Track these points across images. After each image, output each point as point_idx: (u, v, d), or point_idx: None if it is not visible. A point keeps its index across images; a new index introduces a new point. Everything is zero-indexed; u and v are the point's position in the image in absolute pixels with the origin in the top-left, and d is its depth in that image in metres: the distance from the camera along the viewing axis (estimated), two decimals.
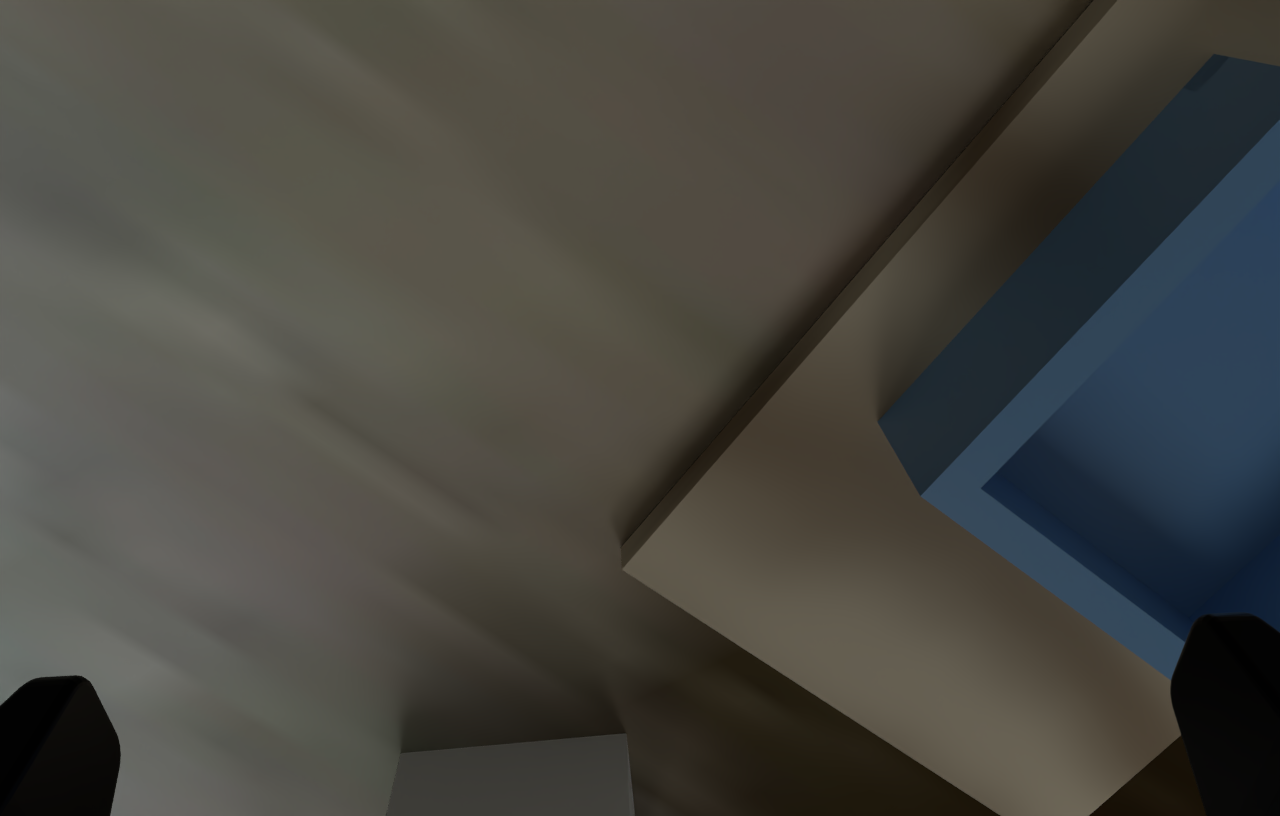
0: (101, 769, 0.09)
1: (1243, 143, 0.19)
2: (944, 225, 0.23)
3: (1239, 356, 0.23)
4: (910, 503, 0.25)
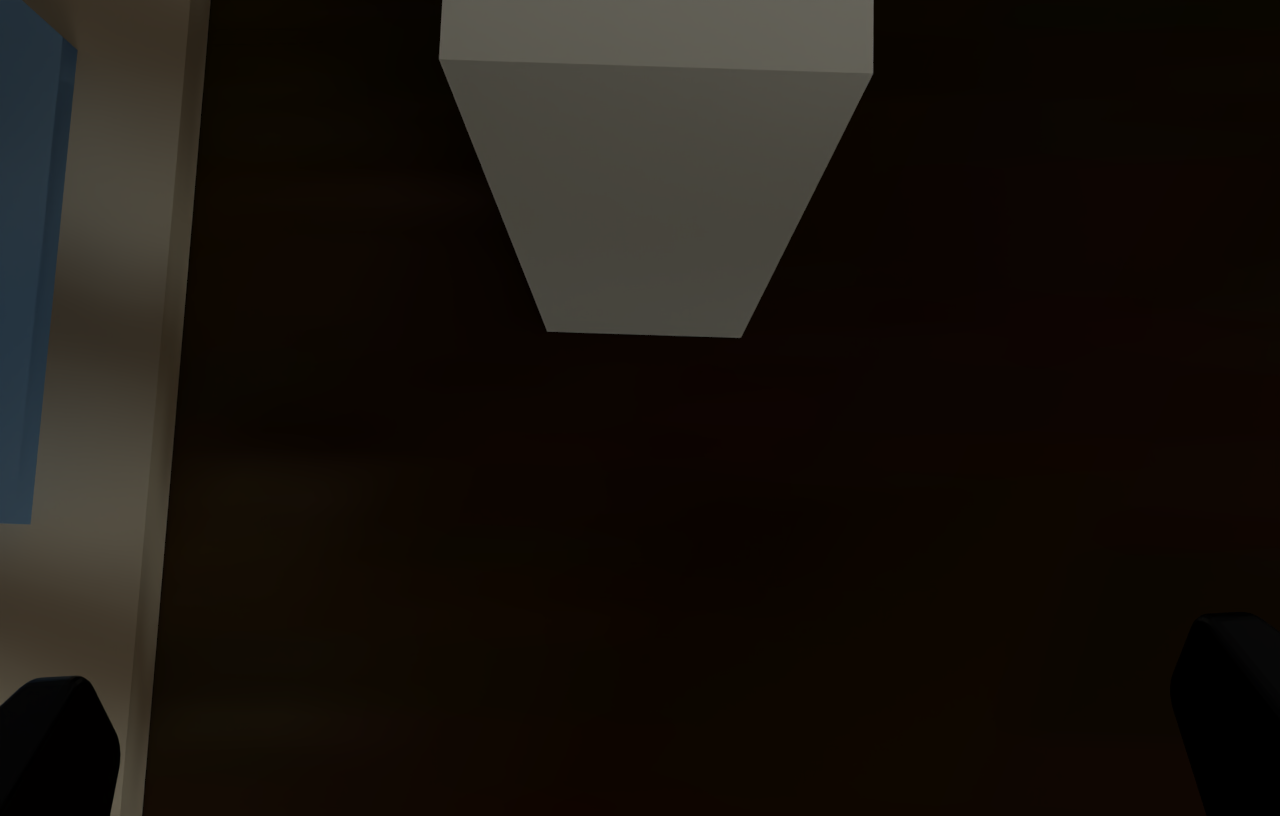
0: (101, 769, 0.09)
1: None
2: None
3: None
4: None
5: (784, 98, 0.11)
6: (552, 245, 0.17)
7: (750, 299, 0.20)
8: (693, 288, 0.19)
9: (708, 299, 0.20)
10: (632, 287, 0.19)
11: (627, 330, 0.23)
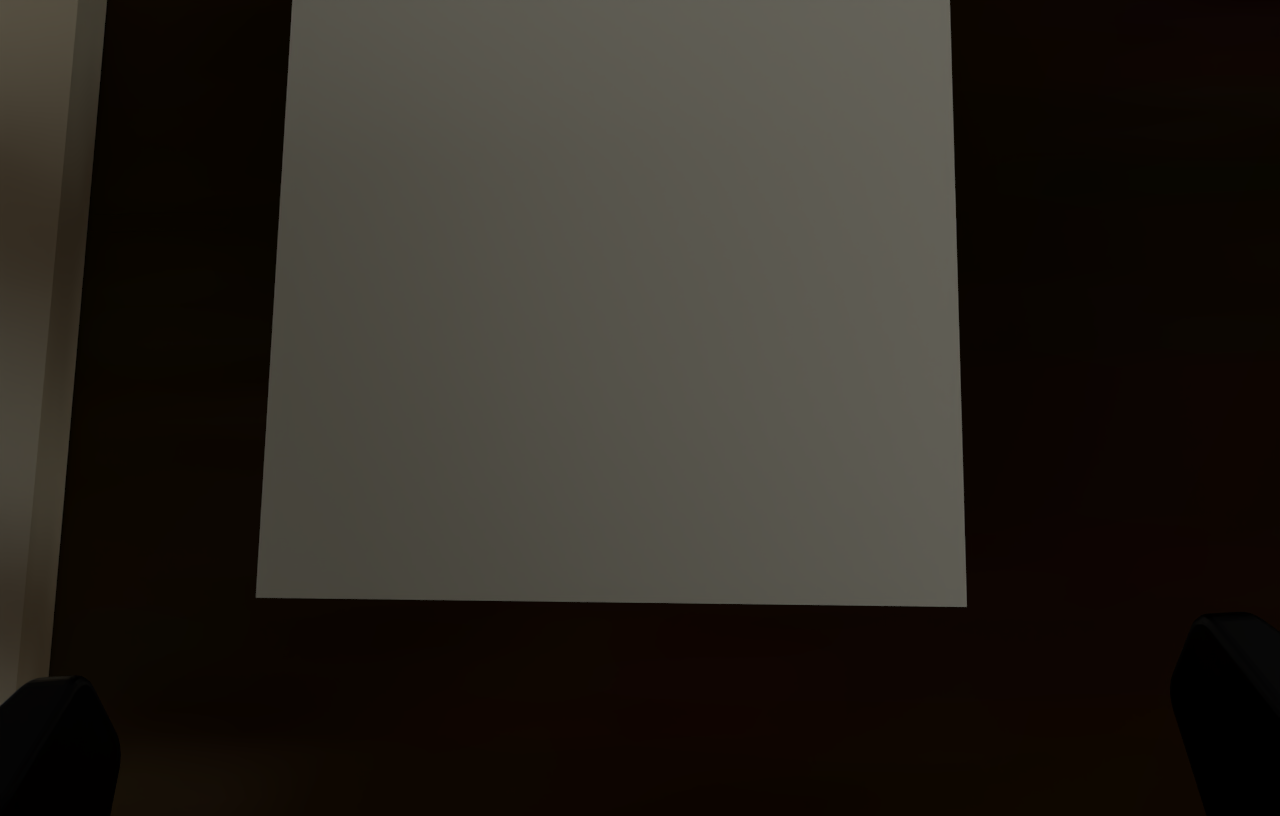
0: (101, 768, 0.09)
1: None
2: None
3: None
4: None
5: None
6: None
7: None
8: None
9: None
10: None
11: None
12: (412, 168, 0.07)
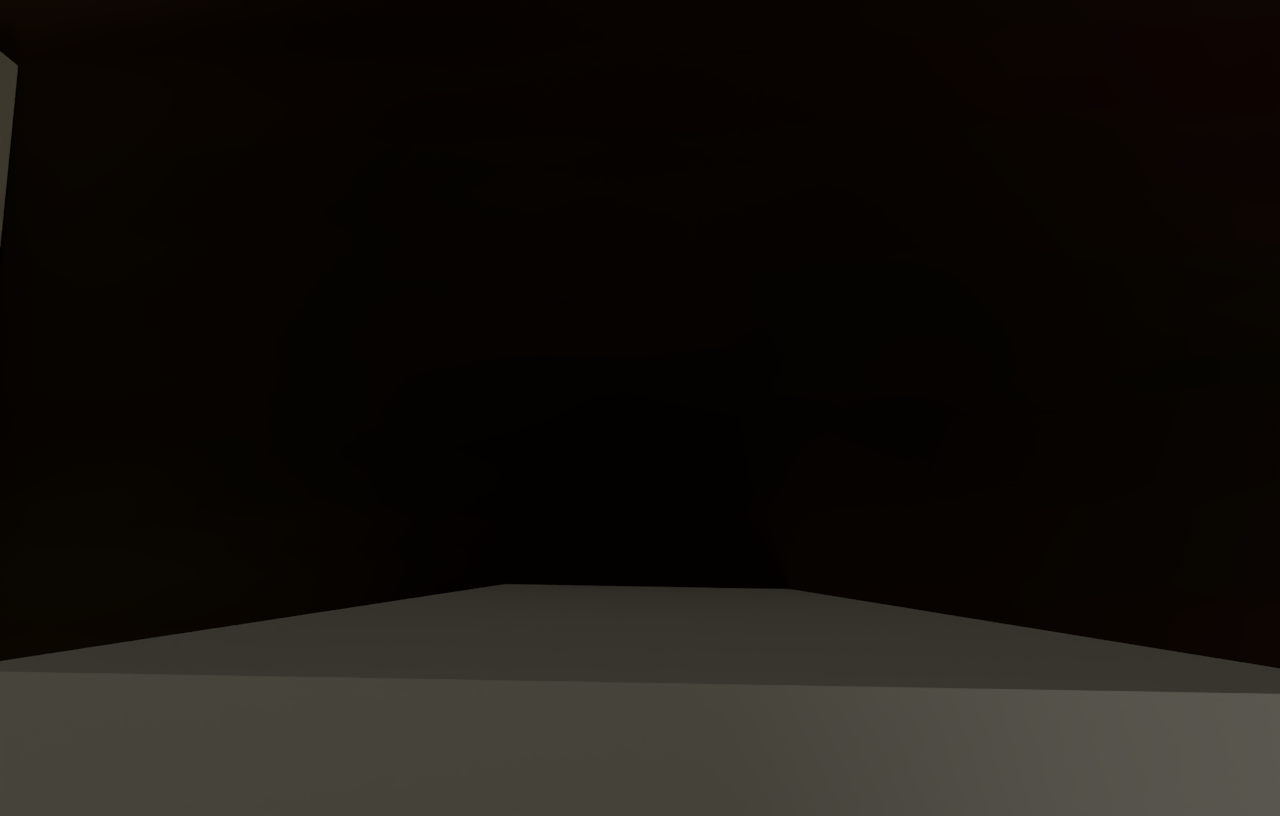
0: None
1: None
2: None
3: None
4: None
5: None
6: None
7: None
8: None
9: None
10: None
11: None
12: None
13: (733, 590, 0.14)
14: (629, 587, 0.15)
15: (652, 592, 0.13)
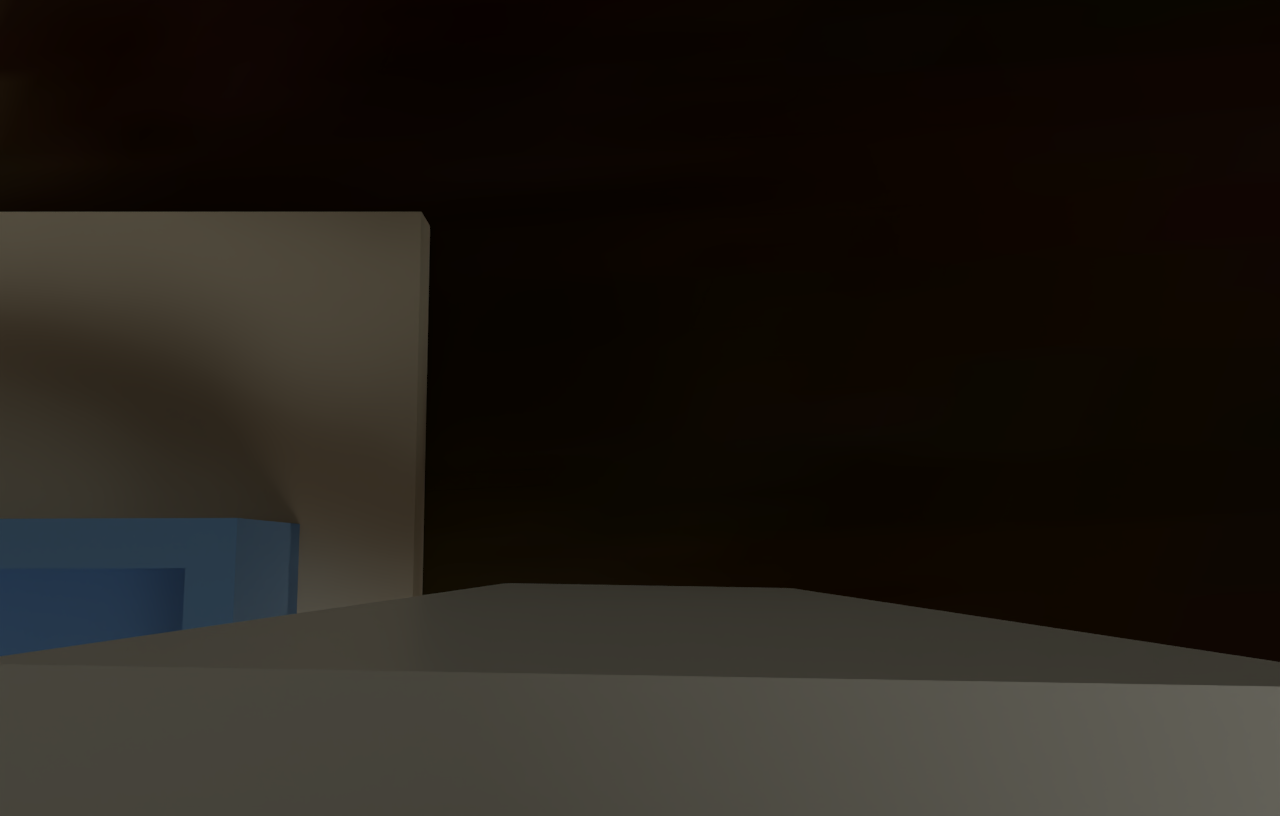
0: None
1: None
2: None
3: None
4: None
5: None
6: None
7: None
8: None
9: None
10: None
11: None
12: None
13: (735, 589, 0.14)
14: (631, 586, 0.15)
15: (654, 591, 0.13)
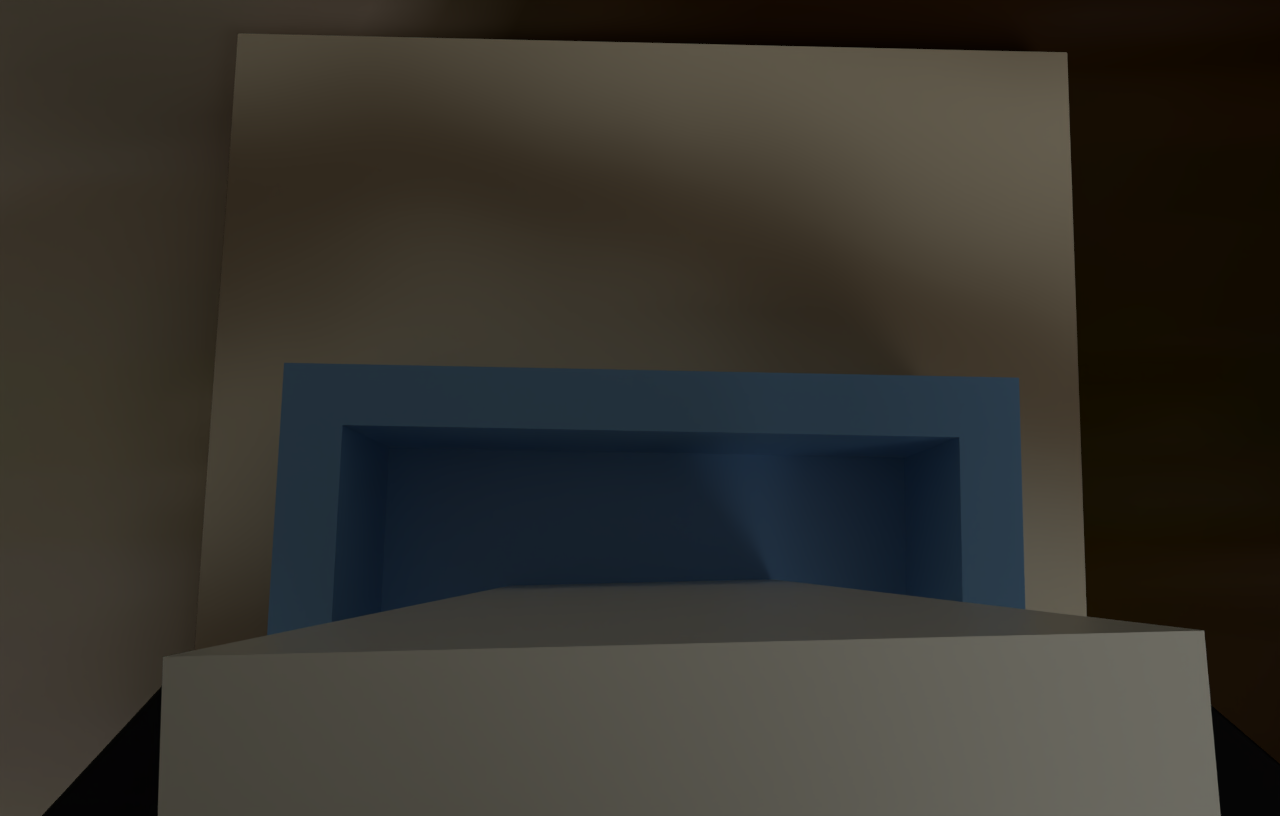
0: None
1: (285, 476, 0.15)
2: None
3: None
4: None
5: None
6: None
7: None
8: None
9: None
10: None
11: None
12: None
13: (720, 582, 0.16)
14: None
15: (646, 587, 0.14)
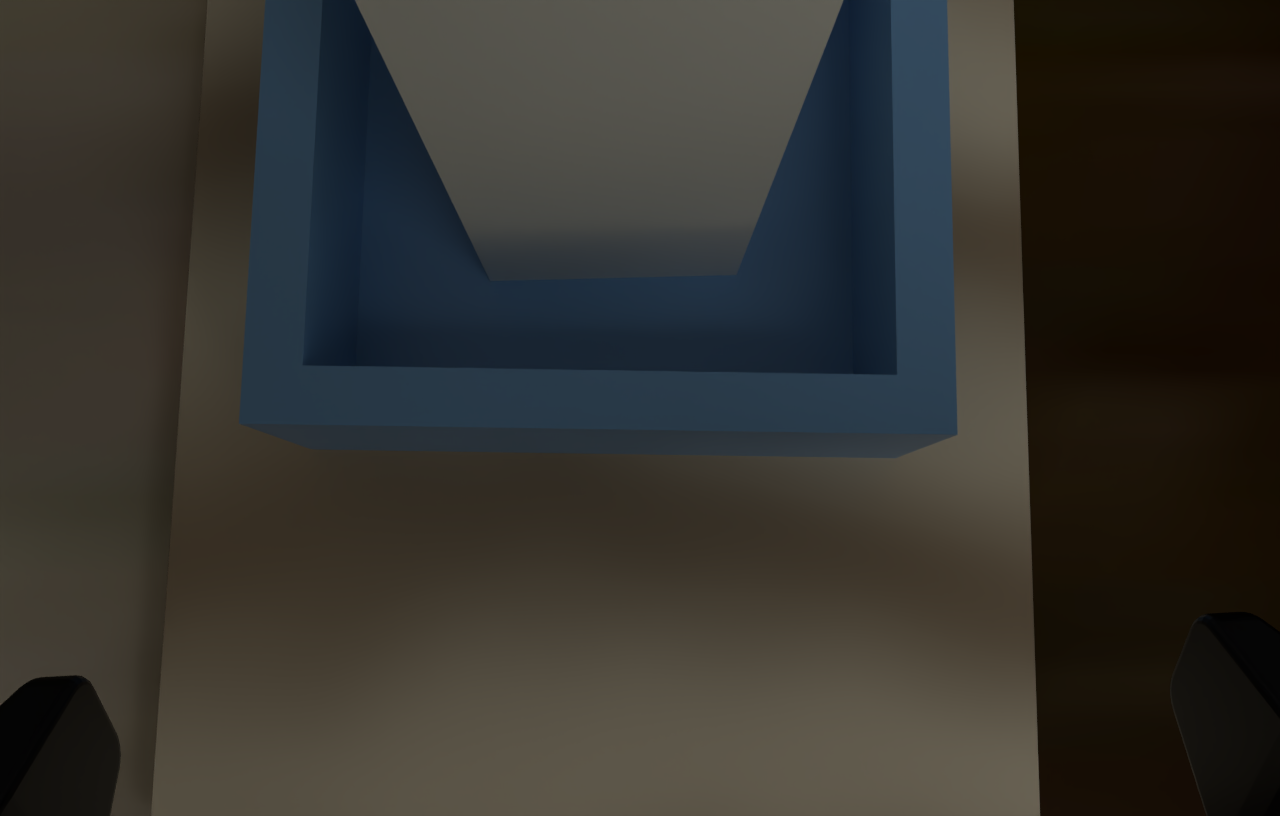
0: (101, 769, 0.09)
1: None
2: (214, 210, 0.19)
3: None
4: (428, 514, 0.18)
5: None
6: (470, 121, 0.12)
7: (750, 207, 0.15)
8: (673, 191, 0.14)
9: (694, 210, 0.15)
10: (591, 196, 0.14)
11: (591, 272, 0.18)
12: None
13: None
14: None
15: None
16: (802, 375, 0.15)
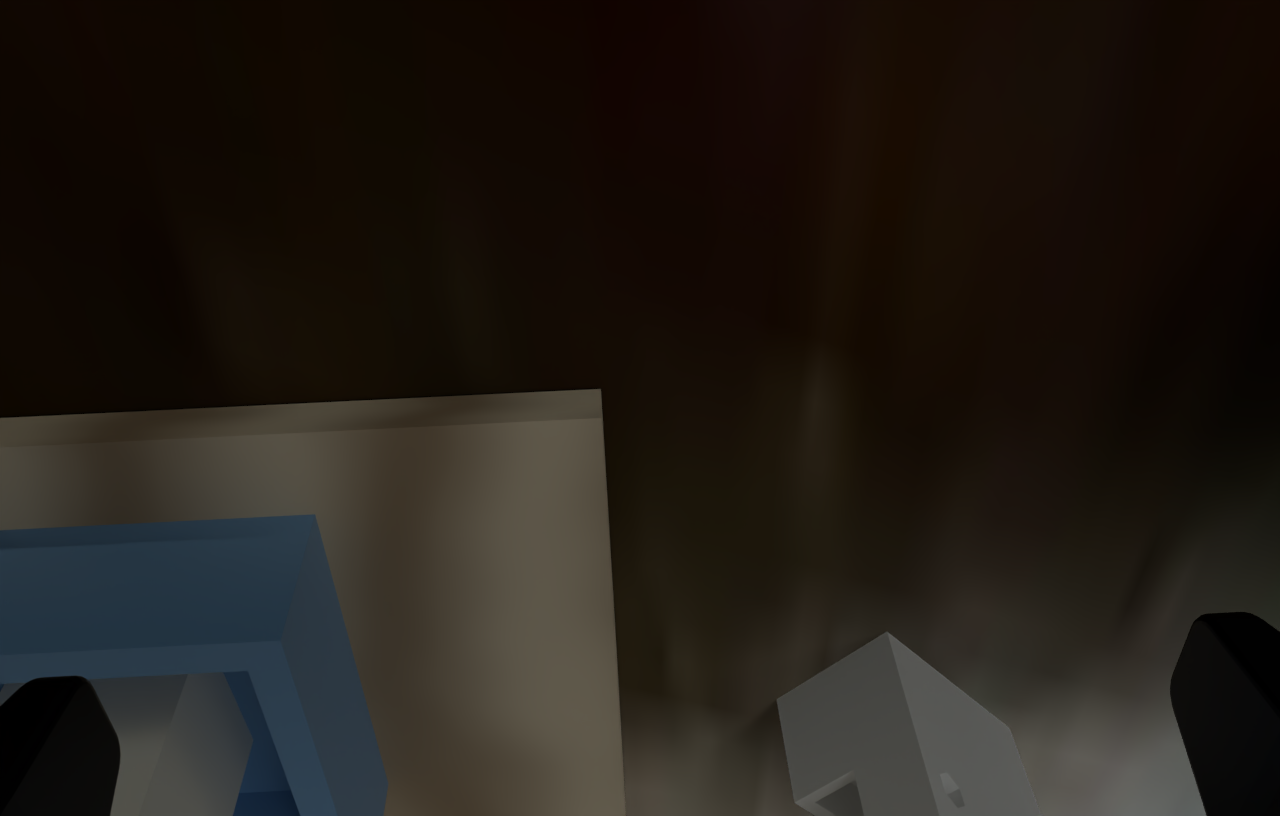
0: (101, 769, 0.09)
1: None
2: None
3: None
4: (416, 735, 0.29)
5: None
6: None
7: (158, 771, 0.22)
8: None
9: (171, 787, 0.23)
10: None
11: (229, 709, 0.26)
12: None
13: None
14: None
15: None
16: (264, 712, 0.22)
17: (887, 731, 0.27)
